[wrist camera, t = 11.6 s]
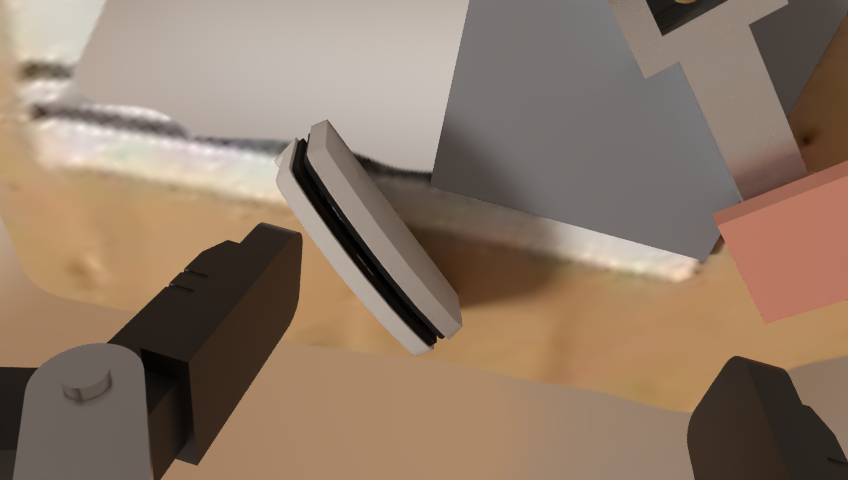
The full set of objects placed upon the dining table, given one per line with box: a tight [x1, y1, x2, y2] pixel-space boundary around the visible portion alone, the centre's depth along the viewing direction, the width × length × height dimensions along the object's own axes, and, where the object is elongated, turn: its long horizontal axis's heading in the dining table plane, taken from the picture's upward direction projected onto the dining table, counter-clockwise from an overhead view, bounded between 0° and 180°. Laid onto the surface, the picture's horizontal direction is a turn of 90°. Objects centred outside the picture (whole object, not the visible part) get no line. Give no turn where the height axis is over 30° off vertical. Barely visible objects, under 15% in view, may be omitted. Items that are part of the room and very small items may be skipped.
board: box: [430, 0, 848, 261], centre depth 32 cm, size 20×18×1 cm
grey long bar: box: [607, 0, 809, 202], centre depth 28 cm, size 16×6×5 cm, turn 34°
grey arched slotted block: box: [274, 120, 463, 356], centre depth 37 cm, size 17×5×10 cm, turn 35°
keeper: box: [712, 161, 848, 324], centre depth 30 cm, size 7×6×8 cm
